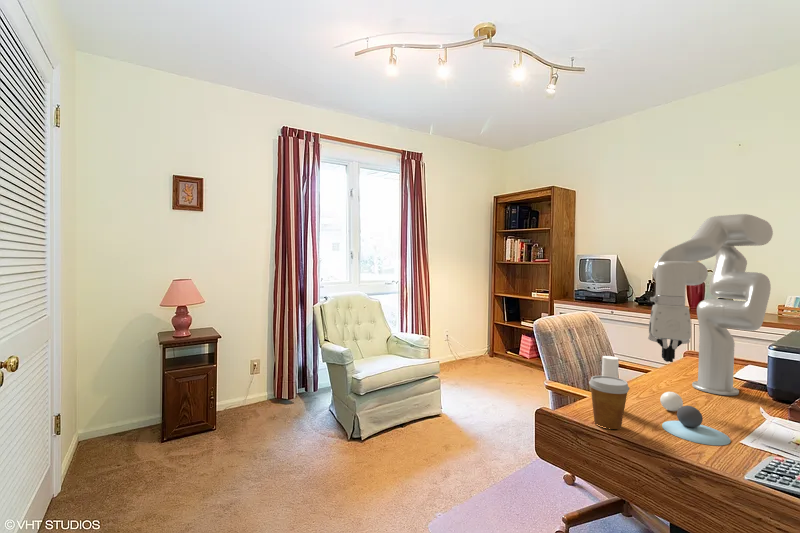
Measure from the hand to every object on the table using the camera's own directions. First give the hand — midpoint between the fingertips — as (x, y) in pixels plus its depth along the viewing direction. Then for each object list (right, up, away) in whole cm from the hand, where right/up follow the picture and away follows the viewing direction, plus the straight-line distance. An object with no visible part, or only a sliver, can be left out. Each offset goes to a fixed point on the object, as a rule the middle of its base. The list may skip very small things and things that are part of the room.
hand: (668, 360), depth 120 cm
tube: (-20, -13, -3) cm, 24 cm away
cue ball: (-2, -11, -5) cm, 12 cm away
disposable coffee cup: (-27, -13, -16) cm, 35 cm away
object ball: (-5, -11, -16) cm, 20 cm away
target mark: (-7, -14, -20) cm, 25 cm away
